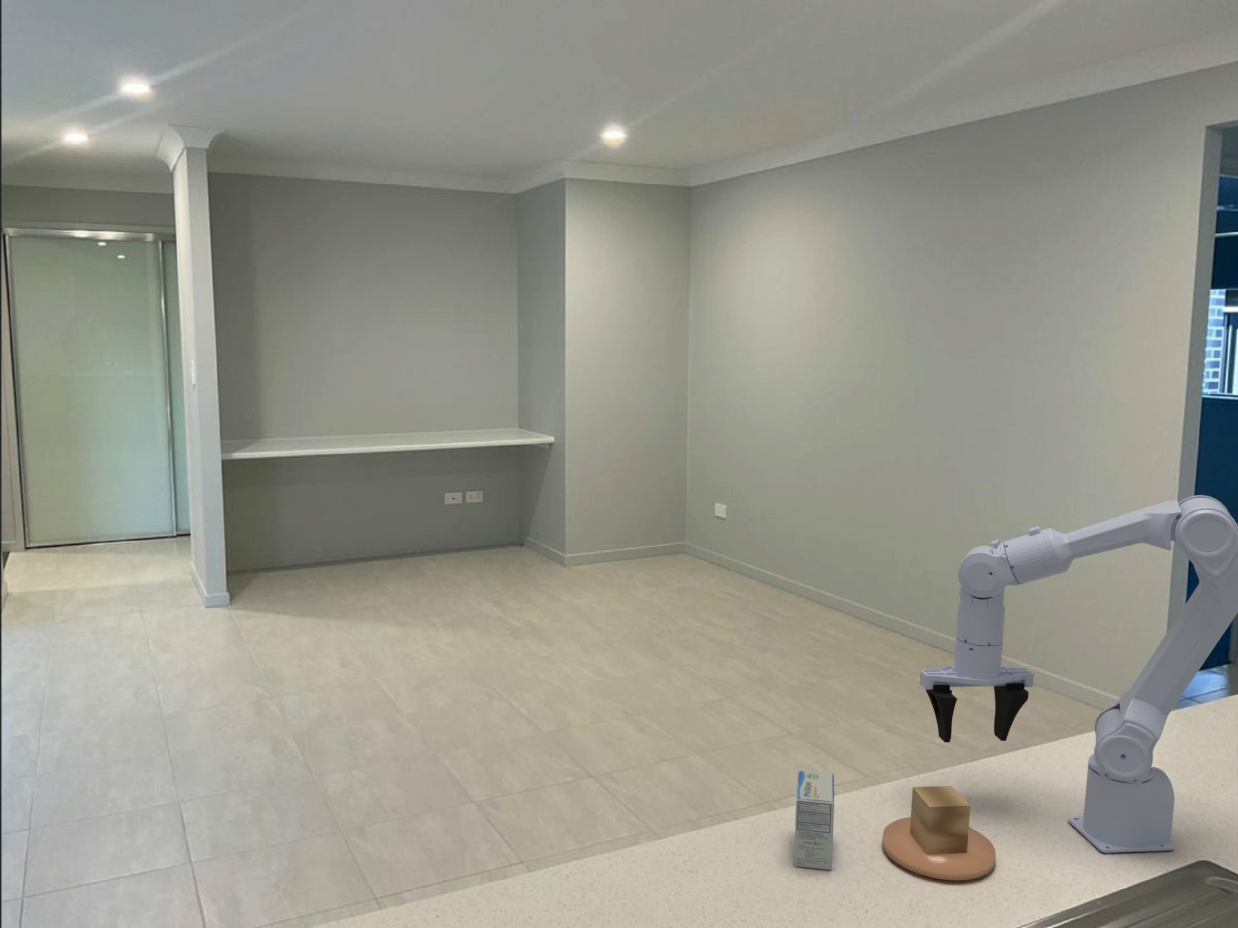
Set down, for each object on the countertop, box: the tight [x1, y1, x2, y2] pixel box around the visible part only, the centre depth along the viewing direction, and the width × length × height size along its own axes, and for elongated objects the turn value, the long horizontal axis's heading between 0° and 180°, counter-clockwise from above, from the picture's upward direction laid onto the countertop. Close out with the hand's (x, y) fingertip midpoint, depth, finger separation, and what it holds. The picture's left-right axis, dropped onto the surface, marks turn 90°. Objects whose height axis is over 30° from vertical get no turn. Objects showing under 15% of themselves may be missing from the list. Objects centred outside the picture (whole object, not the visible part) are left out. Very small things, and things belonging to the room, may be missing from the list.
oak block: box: [910, 785, 971, 855], centre depth 120 cm, size 5×5×6 cm
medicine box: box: [794, 770, 835, 871], centre depth 120 cm, size 8×4×9 cm, turn 168°
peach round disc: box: [881, 816, 997, 881], centre depth 120 cm, size 13×13×1 cm
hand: (972, 738), depth 131 cm, fingers open, 7 cm apart
